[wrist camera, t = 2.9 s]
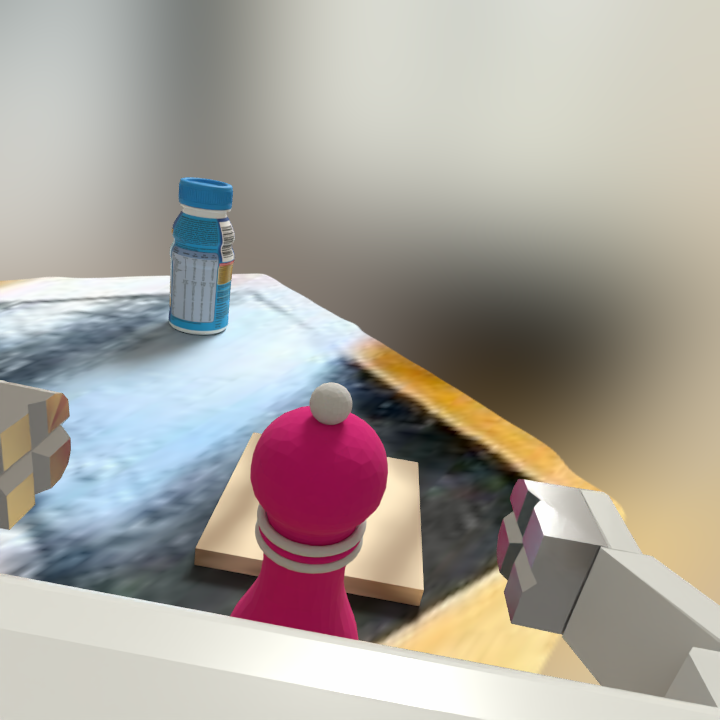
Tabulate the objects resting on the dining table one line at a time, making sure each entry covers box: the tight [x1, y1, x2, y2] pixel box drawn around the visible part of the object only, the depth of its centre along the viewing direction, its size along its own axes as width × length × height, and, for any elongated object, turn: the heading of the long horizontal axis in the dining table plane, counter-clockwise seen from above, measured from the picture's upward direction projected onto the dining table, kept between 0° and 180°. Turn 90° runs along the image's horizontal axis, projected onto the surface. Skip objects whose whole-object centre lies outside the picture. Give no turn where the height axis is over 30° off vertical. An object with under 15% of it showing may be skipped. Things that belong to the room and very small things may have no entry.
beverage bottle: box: [169, 178, 235, 335], centre depth 76 cm, size 8×8×20 cm
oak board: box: [194, 433, 424, 606], centre depth 46 cm, size 16×16×2 cm
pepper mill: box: [230, 382, 388, 640], centre depth 27 cm, size 7×7×20 cm
